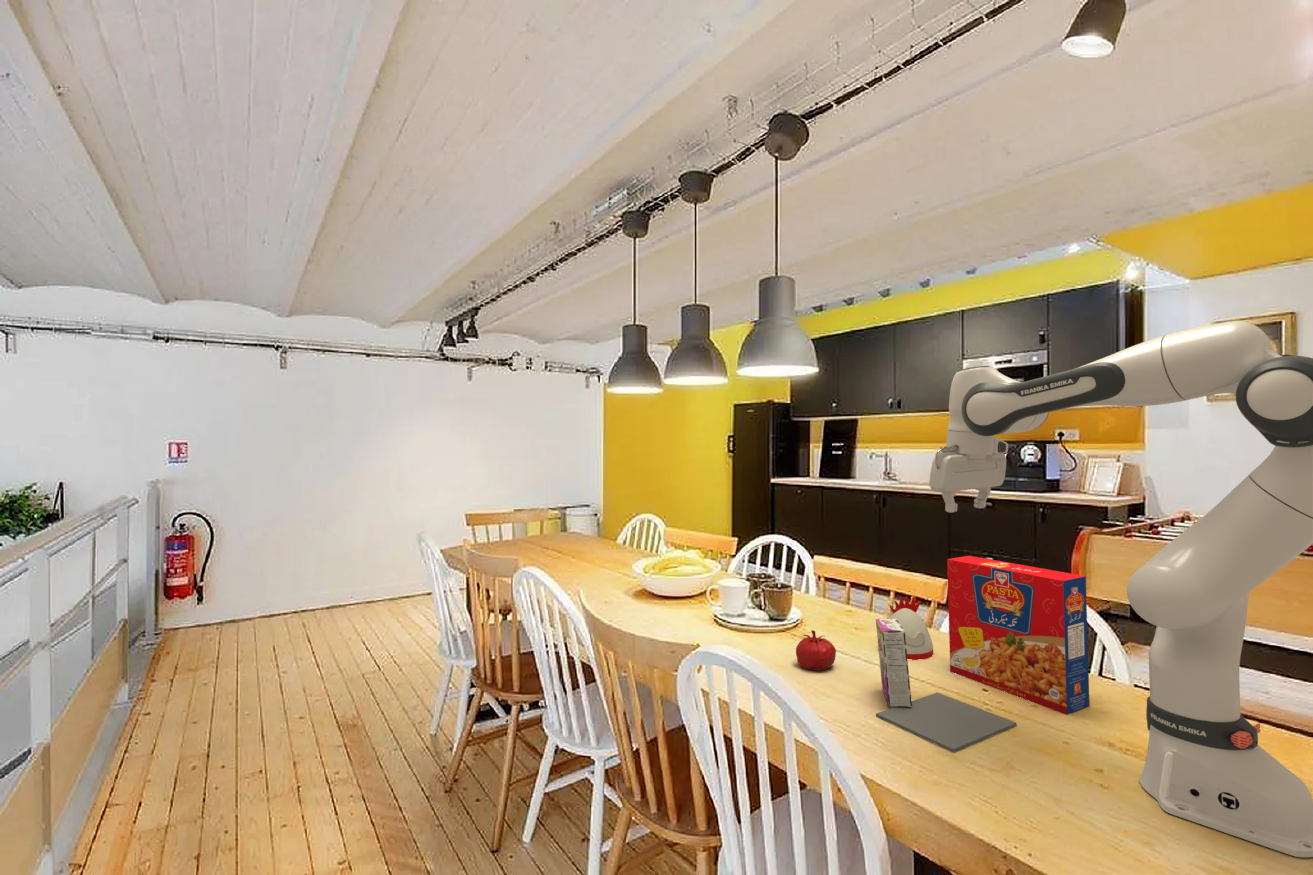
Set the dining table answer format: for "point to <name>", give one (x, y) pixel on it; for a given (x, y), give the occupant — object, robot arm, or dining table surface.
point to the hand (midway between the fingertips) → (965, 509)
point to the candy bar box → (893, 662)
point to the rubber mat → (946, 721)
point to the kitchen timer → (913, 629)
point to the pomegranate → (815, 653)
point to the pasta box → (1020, 630)
